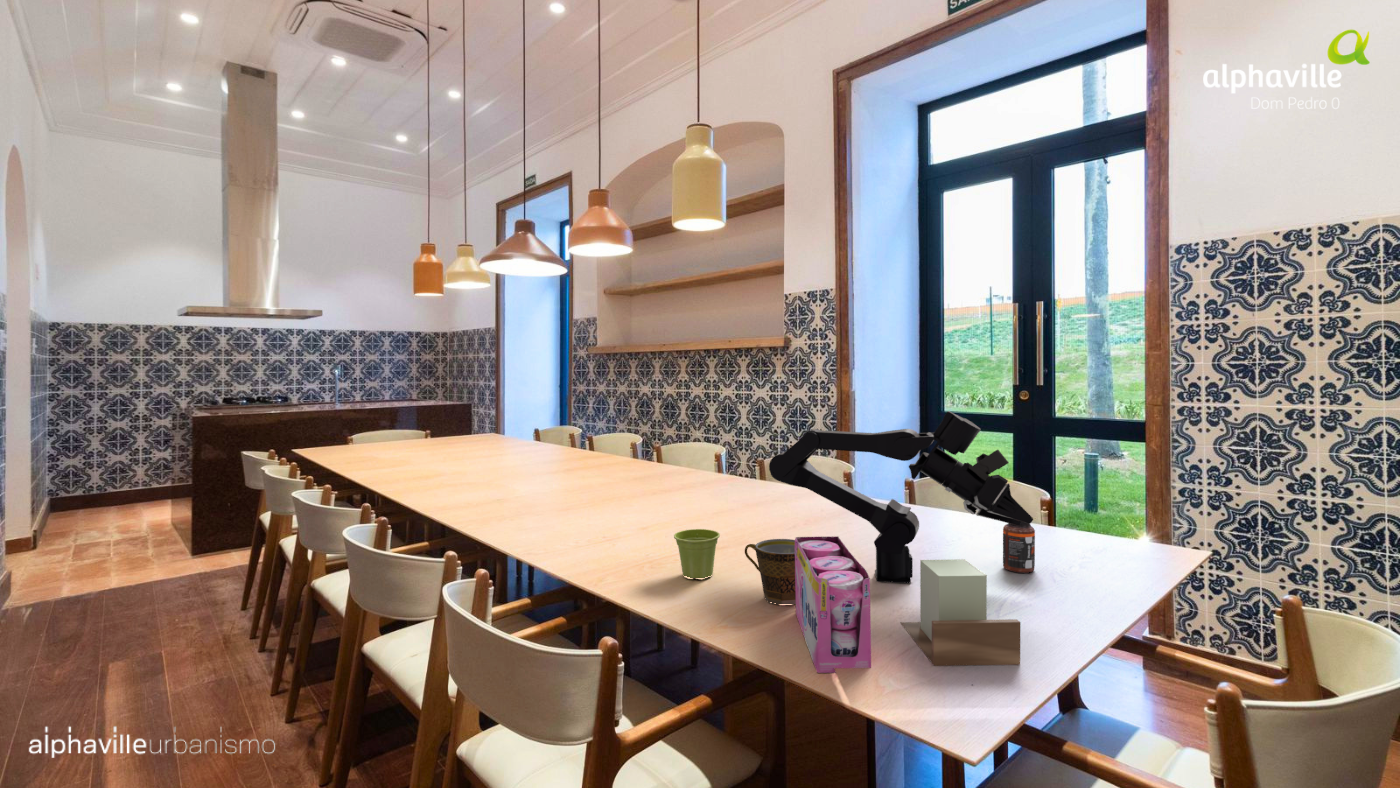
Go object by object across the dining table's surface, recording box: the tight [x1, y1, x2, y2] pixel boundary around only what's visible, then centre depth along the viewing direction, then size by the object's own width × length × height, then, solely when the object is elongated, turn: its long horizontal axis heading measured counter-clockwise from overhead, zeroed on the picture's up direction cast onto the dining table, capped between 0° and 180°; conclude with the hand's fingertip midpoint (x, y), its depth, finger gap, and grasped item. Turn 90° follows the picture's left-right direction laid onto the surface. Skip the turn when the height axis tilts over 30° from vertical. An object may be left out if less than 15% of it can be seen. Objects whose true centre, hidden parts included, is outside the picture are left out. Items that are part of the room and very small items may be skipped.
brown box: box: [900, 618, 1021, 667], centre depth 98 cm, size 15×12×7 cm
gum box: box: [794, 536, 872, 674], centre depth 101 cm, size 24×8×14 cm, turn 0°
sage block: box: [919, 558, 988, 641], centre depth 99 cm, size 8×7×11 cm
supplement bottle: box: [1002, 522, 1036, 574], centre depth 135 cm, size 6×6×11 cm
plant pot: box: [673, 528, 721, 578], centre depth 133 cm, size 9×9×9 cm
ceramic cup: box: [744, 538, 796, 604], centre depth 120 cm, size 13×10×10 cm
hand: (1025, 522), depth 120 cm, fingers open, 9 cm apart
